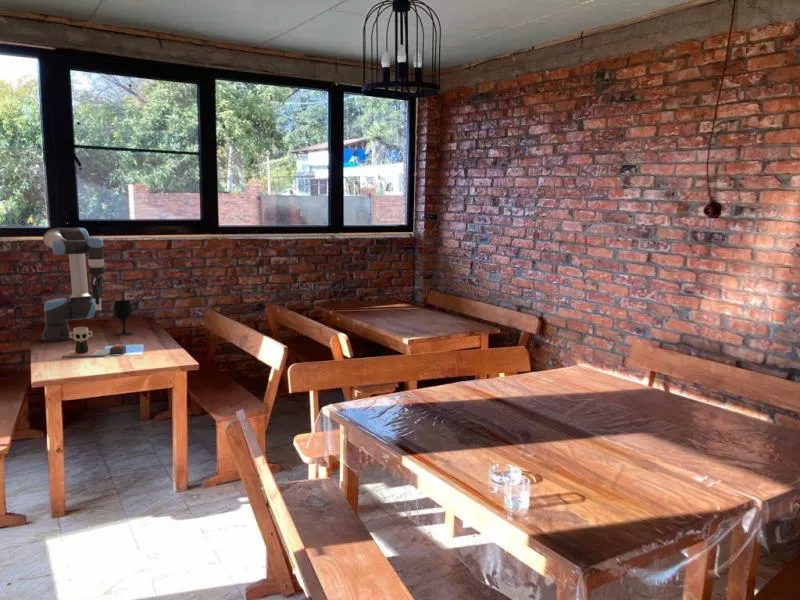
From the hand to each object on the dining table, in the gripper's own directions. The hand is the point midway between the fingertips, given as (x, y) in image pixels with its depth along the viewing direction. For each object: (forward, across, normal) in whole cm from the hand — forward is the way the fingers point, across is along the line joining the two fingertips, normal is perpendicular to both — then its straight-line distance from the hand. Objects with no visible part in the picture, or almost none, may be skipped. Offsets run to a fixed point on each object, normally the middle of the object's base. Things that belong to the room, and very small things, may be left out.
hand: (98, 309), depth 345 cm
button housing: (+22, +10, +12) cm, 27 cm away
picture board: (+22, +10, -3) cm, 24 cm away
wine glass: (+24, -42, +3) cm, 48 cm away
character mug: (+21, +10, -6) cm, 24 cm away
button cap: (+20, +10, +12) cm, 25 cm away
